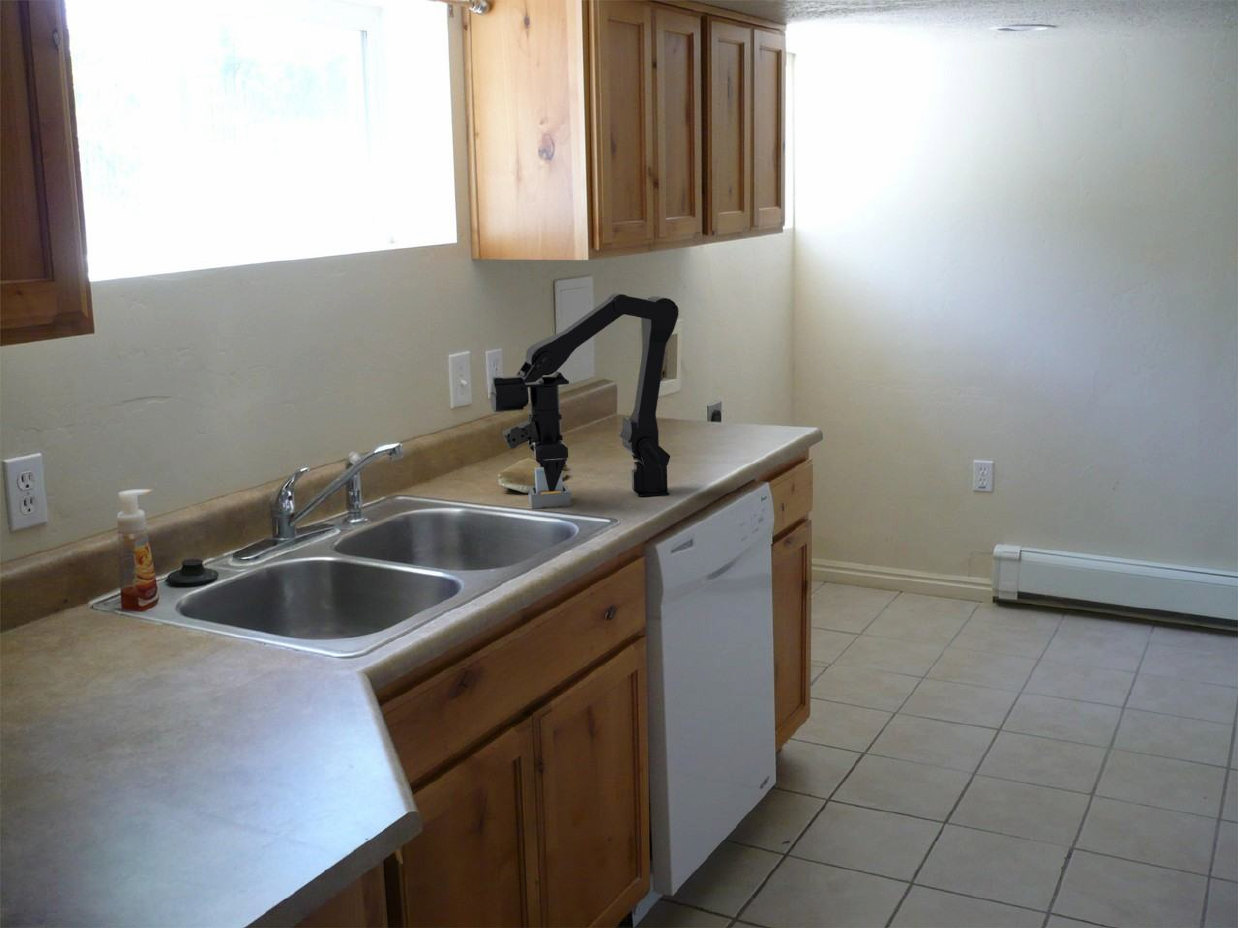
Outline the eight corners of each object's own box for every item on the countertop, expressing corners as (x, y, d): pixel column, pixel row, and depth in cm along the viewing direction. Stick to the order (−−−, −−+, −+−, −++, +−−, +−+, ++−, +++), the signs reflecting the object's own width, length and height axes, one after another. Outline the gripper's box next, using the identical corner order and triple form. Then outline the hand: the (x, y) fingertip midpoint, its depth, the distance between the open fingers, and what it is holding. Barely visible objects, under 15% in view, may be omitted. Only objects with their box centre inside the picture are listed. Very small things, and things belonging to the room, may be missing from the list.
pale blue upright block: (561, 495, 244) (559, 466, 243) (563, 500, 240) (561, 470, 239) (536, 497, 243) (534, 467, 242) (538, 502, 239) (536, 472, 238)
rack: (567, 497, 246) (566, 482, 245) (571, 505, 239) (570, 490, 238) (528, 500, 245) (527, 485, 244) (531, 508, 238) (531, 493, 237)
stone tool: (530, 465, 274) (487, 493, 251) (531, 448, 273) (489, 474, 250) (579, 473, 271) (540, 502, 248) (580, 456, 270) (542, 483, 247)
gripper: (500, 403, 245) (504, 478, 249) (507, 419, 227) (512, 500, 231) (555, 399, 247) (559, 474, 251) (566, 415, 229) (570, 495, 233)
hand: (549, 485), depth 241 cm, fingers open, 9 cm apart
